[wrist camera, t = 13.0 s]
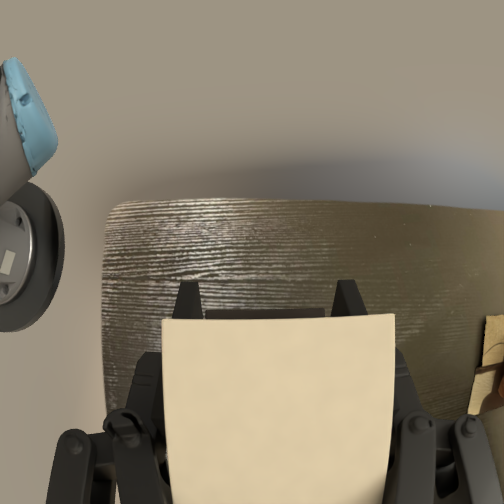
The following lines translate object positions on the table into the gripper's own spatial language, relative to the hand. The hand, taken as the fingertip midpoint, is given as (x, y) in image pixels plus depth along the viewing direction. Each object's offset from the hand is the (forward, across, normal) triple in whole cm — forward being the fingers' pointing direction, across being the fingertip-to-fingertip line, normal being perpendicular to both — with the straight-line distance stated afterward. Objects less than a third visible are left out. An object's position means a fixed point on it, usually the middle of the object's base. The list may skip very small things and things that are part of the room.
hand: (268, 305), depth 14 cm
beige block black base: (-2, 0, -6) cm, 7 cm away
